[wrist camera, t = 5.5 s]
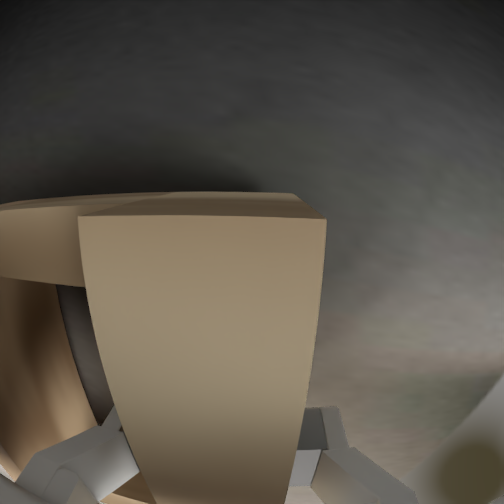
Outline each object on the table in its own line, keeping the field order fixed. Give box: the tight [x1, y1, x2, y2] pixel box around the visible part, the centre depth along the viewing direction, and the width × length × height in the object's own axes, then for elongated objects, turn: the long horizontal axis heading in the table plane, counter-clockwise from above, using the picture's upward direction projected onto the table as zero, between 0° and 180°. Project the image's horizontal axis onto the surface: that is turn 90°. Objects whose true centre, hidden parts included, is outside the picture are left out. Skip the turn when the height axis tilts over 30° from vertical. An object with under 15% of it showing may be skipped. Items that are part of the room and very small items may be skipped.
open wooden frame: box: [0, 192, 327, 504], centre depth 7 cm, size 12×9×5 cm
